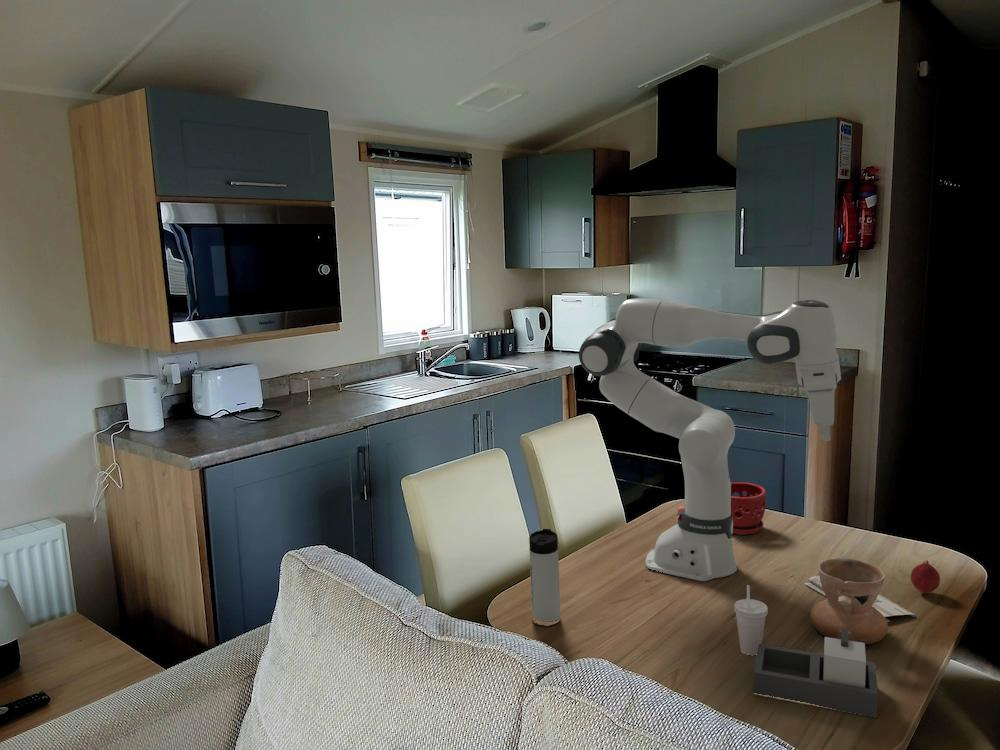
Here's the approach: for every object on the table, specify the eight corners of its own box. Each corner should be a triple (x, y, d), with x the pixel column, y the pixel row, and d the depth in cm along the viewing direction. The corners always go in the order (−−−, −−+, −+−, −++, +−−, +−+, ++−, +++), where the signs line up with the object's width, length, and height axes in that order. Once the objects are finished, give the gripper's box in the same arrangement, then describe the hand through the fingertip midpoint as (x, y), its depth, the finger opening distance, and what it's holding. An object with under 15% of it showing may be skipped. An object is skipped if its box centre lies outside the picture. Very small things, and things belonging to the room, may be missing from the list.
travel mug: (563, 614, 169) (561, 529, 166) (556, 628, 163) (553, 540, 160) (537, 611, 171) (533, 527, 168) (528, 625, 165) (525, 538, 162)
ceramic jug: (882, 662, 144) (886, 593, 142) (802, 643, 152) (805, 577, 150) (891, 623, 159) (895, 559, 157) (818, 608, 167) (821, 547, 165)
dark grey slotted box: (753, 695, 136) (754, 643, 134) (761, 649, 151) (762, 603, 149) (876, 718, 128) (879, 664, 126) (872, 668, 143) (874, 619, 141)
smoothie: (728, 644, 153) (729, 579, 151) (759, 641, 154) (760, 577, 152) (741, 661, 147) (741, 594, 145) (772, 658, 148) (774, 591, 145)
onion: (943, 600, 168) (945, 566, 166) (914, 598, 169) (916, 565, 167) (933, 588, 173) (935, 555, 172) (906, 587, 174) (908, 554, 173)
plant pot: (719, 519, 222) (720, 480, 220) (767, 523, 217) (767, 483, 215) (713, 535, 210) (714, 494, 208) (763, 540, 205) (764, 498, 203)
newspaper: (801, 586, 179) (802, 575, 179) (844, 583, 182) (846, 573, 182) (870, 630, 157) (871, 619, 157) (918, 626, 160) (919, 615, 160)
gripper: (802, 365, 175) (809, 422, 178) (803, 385, 157) (811, 449, 159) (831, 362, 173) (838, 419, 175) (836, 382, 154) (843, 447, 157)
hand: (825, 434), depth 167 cm, fingers open, 8 cm apart
